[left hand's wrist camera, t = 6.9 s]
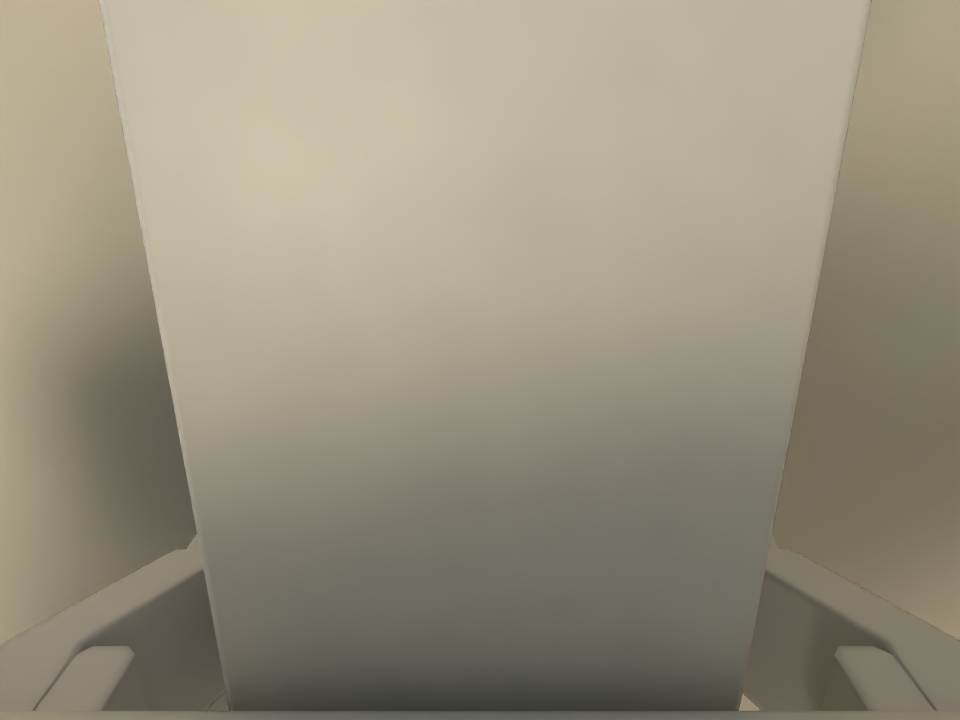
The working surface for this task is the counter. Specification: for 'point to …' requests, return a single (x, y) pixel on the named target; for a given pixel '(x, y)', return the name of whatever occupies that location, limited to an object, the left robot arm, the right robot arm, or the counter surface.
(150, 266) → the post
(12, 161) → the counter surface
